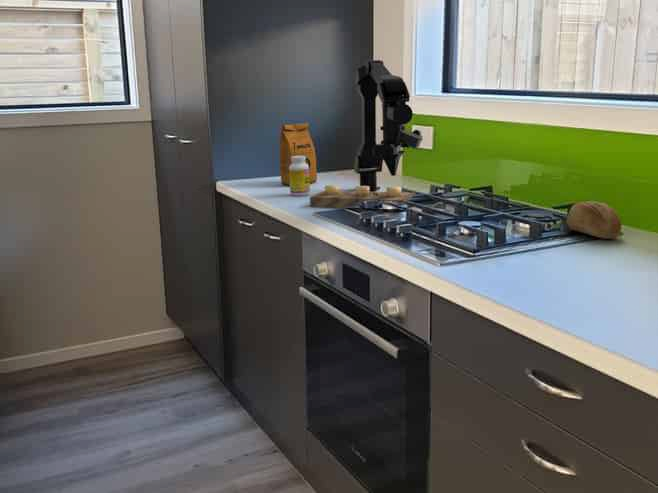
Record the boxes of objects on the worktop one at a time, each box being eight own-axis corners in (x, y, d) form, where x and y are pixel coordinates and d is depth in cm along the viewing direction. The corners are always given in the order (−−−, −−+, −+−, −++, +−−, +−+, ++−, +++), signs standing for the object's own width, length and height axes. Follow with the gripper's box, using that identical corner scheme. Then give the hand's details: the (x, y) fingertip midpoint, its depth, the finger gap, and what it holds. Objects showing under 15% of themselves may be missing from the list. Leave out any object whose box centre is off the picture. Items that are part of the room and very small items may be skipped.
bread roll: (596, 244, 155) (598, 209, 153) (555, 230, 169) (556, 198, 167) (631, 239, 158) (633, 205, 156) (588, 226, 172) (589, 194, 170)
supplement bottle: (307, 196, 229) (305, 157, 225) (288, 196, 230) (286, 158, 227) (312, 192, 235) (310, 155, 232) (293, 193, 236) (291, 155, 233)
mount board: (310, 206, 212) (309, 196, 211) (325, 199, 222) (325, 190, 222) (404, 210, 200) (403, 200, 199) (415, 202, 211) (415, 192, 210)
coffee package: (320, 183, 253) (317, 122, 247) (290, 187, 247) (286, 125, 241) (308, 180, 261) (305, 121, 256) (278, 184, 255) (274, 124, 250)
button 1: (329, 200, 218) (328, 184, 217) (341, 201, 216) (341, 185, 215) (323, 203, 214) (322, 187, 213) (336, 203, 212) (335, 187, 211)
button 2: (389, 202, 210) (389, 186, 209) (403, 203, 208) (402, 186, 207) (384, 205, 206) (384, 188, 205) (398, 206, 204) (398, 189, 203)
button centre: (358, 201, 214) (358, 185, 213) (372, 202, 212) (371, 185, 211) (353, 204, 210) (352, 188, 209) (367, 205, 208) (366, 188, 207)
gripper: (409, 125, 189) (410, 181, 193) (427, 119, 206) (428, 171, 210) (371, 125, 194) (373, 180, 198) (392, 119, 210) (393, 170, 214)
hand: (393, 175), depth 205 cm, fingers closed
